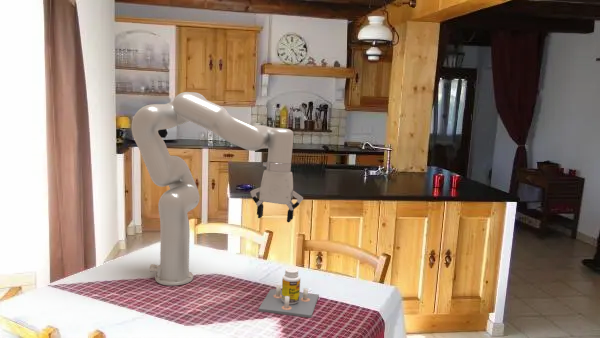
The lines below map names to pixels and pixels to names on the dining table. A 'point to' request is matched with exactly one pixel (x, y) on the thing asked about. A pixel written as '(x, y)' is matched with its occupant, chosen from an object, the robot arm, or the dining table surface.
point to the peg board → (299, 309)
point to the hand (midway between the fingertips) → (274, 219)
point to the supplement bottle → (291, 285)
